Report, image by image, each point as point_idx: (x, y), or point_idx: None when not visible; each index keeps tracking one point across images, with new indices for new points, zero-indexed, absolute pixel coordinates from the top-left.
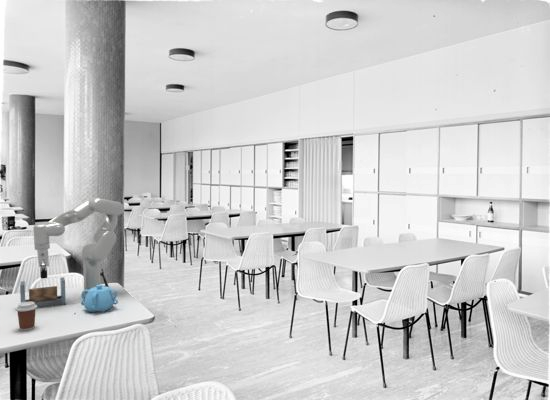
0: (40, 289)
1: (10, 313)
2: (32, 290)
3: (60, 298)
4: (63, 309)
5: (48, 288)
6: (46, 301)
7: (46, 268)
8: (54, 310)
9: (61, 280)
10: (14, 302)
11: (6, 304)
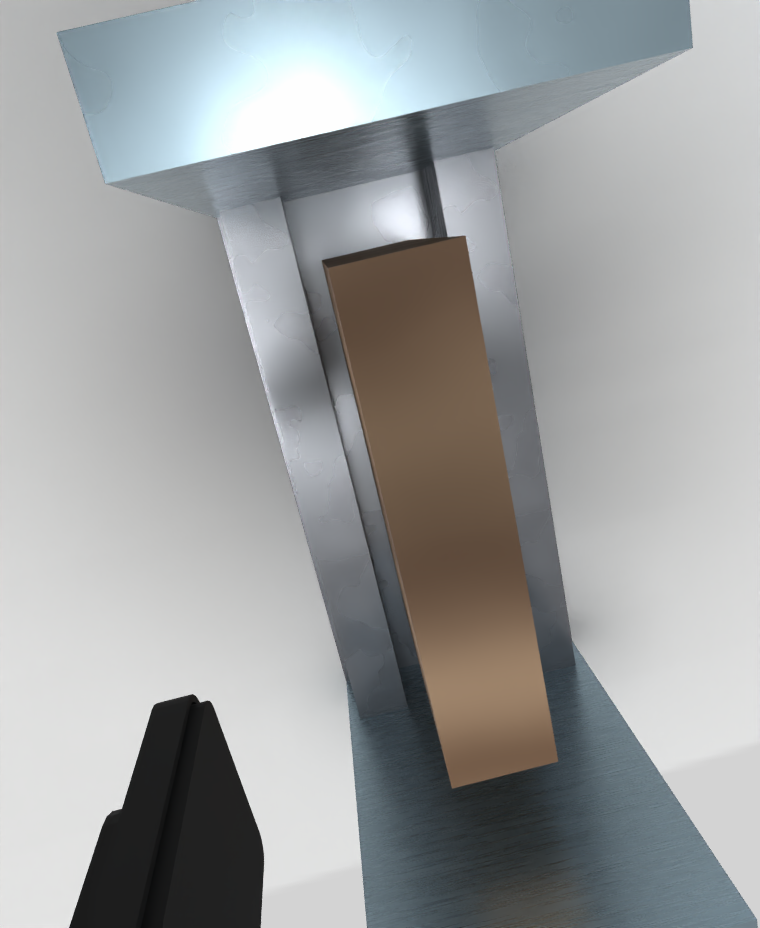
0: (523, 574)
1: (642, 727)
2: (543, 700)
3: (284, 210)
4: (718, 87)
5: (497, 426)
6: (530, 393)
7: (147, 900)
8: (719, 223)
9: (617, 45)
10: None
11: None
